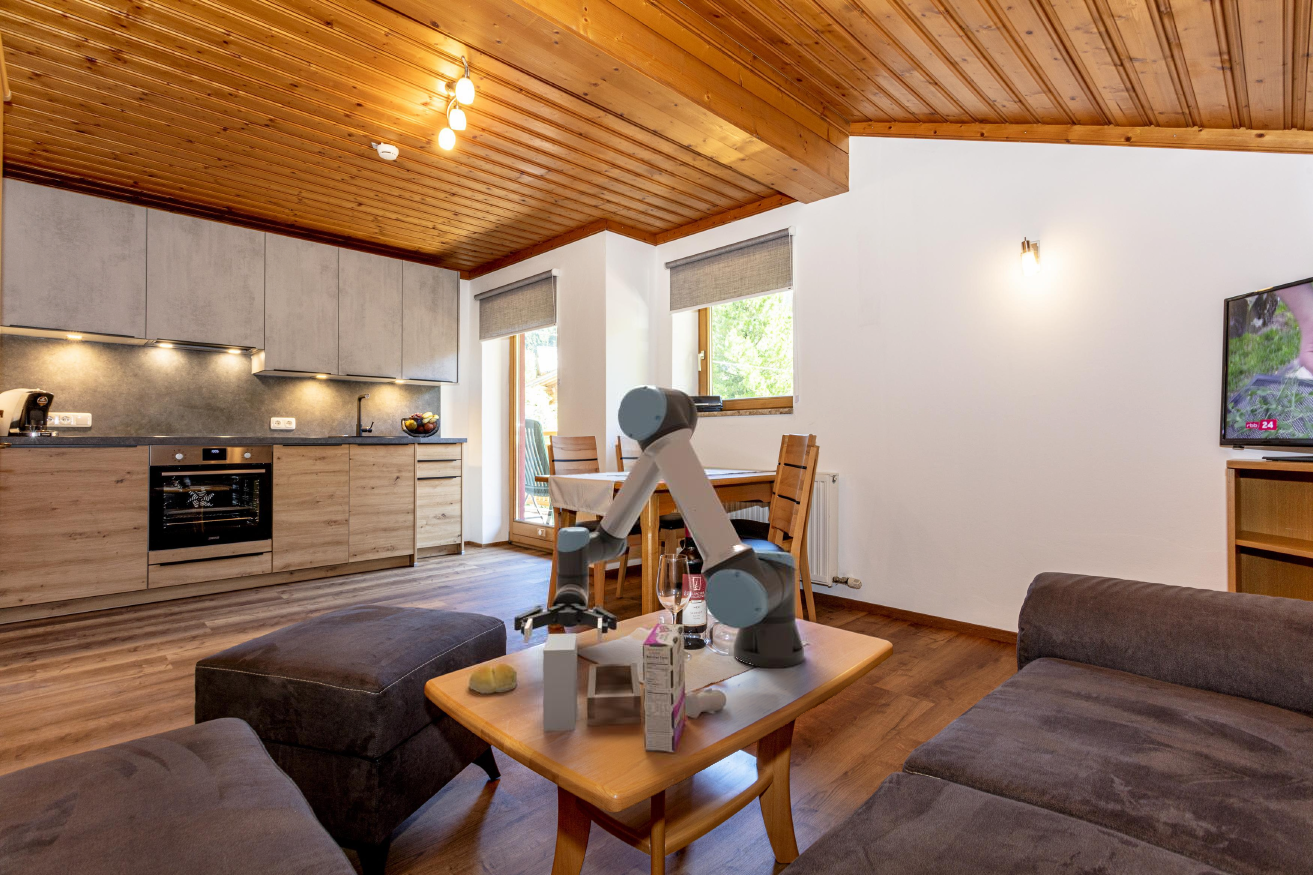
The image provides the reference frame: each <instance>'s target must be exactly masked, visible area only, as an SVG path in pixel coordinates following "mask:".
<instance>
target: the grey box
mask: <svg viewBox="0 0 1313 875" xmlns="http://www.w3.org/2000/svg"><path fill="white" fill-rule="evenodd" d="M546 637H547V638H546V640H545V641H546V642H545V643H544V648H543V651H542V652H543V653H542V658H543V659H542V660H543V662H542V665H543V666H542V667H543V668H542V670H543V671H542V672H543V674H542V675H543V676H542V677H543V678H542V679H543V680H542V685H543V686H542V687H543V688H542V690H543V691H542V694H543V697H542V700H543V701H542V702H543V703H542V704H543V706H542V711H543V712H542V714H543V715H542V716H543V717H542V718H543V719H542V723H543V729H542V731H543V732H550V731H552V732H554V731H557V732H558V731H575V727H576V721H577V720H576V719H577V711H578V633H548V634H547V636H546Z"/></svg>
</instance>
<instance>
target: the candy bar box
mask: <svg viewBox="0 0 1313 875" xmlns="http://www.w3.org/2000/svg"><path fill="white" fill-rule="evenodd" d="M642 663H643V664H642V671H643V672H642V673H643V677H642V678H643V682H642V683H643V722H644V723H643V726H644V727H643V728H644V729H643V730H644V731H643V733H644V737H643V738H644V740H643V741H644V751H647V752H648V751H649V752H657V753H671V754H674V753H675V752H676V749H677V747H678V746H677V745H678V743H679V741H680V737H681V734H682V733H683V729H684V727H685V724H686V722H687V721H686V720H687V719H686V713H685V696H686V686H685V685H686V680H685V678H686V677H685V676H686V674H685V672H686V671H685V668H686V667H685V624H677V623H659V622H658V623H656V624H655V626H654V627H653V629H652V630H651V632H650V633H649V634H648V636H647V637H646V639H645V640H644V642H643V643H642Z"/></svg>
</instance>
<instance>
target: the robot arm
mask: <svg viewBox="0 0 1313 875" xmlns="http://www.w3.org/2000/svg"><path fill="white" fill-rule="evenodd" d="M698 415H699V414H698V409H697V406H696V404H695V402H694V399H692V397H691V396H690V395H688V394H687V393H686V392H684V391H682V390H679V389H674V388H668V387H667V388H666V387H660V386H658V385H657V386H656V385H655V384H648V385H638V386H635V387H633V388H632V389H630V390H629V391H628V392H627V393H626V394H625V395H624V396H623V397H622V399H621V401H620V405H619V408H618V411H617V420H618V425H619V428H620V430H621V431H622V433H623V434H624V435H625V436H626V437H628V438H630V439H631V440H634V441H636V442H637V444H638V446H639V448H640V450H641V452H640V454H639V456H638V457H637V459H636V460H635V463H634V464H633V466H632V467H631V470H630V471H629V473H628V475H627V476H626V478H625V480H624V482H623V483H622V484H621V487H620V488H619V490H618V491H617V494H615V497H614V499H613V500H612V502H611V503H610V505H609V508H608V509H607V511H606V512H605V515H604V516H603V518H602V519H601V521H600V522H599V524H598V526H597V528H596V529H595V530H594V531H592V532H590V530H589V529H588V528H586V527H582V526H571V527H566V526H565V527H563V528H560V529H559V530H558V531H557V540H556V541H557V543H556V547H555V548H556V589H555V590H556V591H555V596H554V598H553V602H552V604H551V607H549V608H547V609H544V607H542V606H541V605H537V606H535V607H534V608H532V609H530V610H528V611H526V612H524V613H521V614H519V615H516V616H514V629H513V630H514V631H516V632H517V631H520V634H521V635H523V640H524V641H523V643H524V644H529V642H530V639H531V637H532V635H533V631H534V630H536V629H539V628H540V629H541V628H542V627H546V626H551V627H553V626H557V625H560V626H561V627H564V628H572V627H577V626H578V625H579V626H589V627H591V628H593V629H597V643H602V640H603V639H602V637H603V636H602V634H608V633H609V629H610V630H612V631H616V630H617V627H618V626H617V625H618V624H617V623H618V619H617V616H616V615H614V614H612V613H610V612H609V611H607V610H605V609H603V608H602V607H601V605H595V606H594V607H593V609H589V608H588V600H589V597H590V587H589V582H590V581H589V576H590V565H594V564H596V563H601V562H604V561H605V562H606V561H611V560H614V559H616V558H618V557H619V556H622V555H623V554H624V553H625V551H627V543H628V540H627V539H628V538H627V536H628V535H629V533H630V532H631V530H632V528H633V526H634V525H635V523H636V521H637V520H638V518H639V517H640V515H641V513H642V512H643V510H644V508H645V507H646V505H647V503H648V502H649V500H650V498H651V496H652V495H653V493H654V492H655V491H656V488H657V487H658V485H659V484H660V482H661V480H662V479H663V481H664V483H665V485H666V487H667V489H668V490H669V493H670V495H671V497H672V499H673V501H674V503H675V504H676V507H677V509H678V511H679V514H680V516H681V517H682V520H683V522H684V523H685V524H684V525H686V527H687V530H688V532H689V534H690V536H691V538H692V540H693V541H694V544H695V546H696V547H697V549H698V552H699V554H700V556H701V558H702V560H703V564H702V567H701V572H700V573H701V575H702V577H703V580H704V581H705V582H706V584H705V591H704V601H705V605H706V607H707V610H708V611H709V612H710V614H711V616H712V617H713V618H714V619H715V620H716V621H718V622H719V623H721V624H722V625H723V626H727V627H729V628H732V629H738V631H737V632H736V633H737V634H736V636H735V640H734V643H733V656H734V655H735V656H734V658H735V657H737V658H738V659H739V660H742V661H744V662H747V663H751V664H753V665H752V666H754V665H756V666H755V667H760V668H771V669H772V668H774V669H775V668H789V667H794V666H796V665H799V664H801V663H803V661H804V659H805V647H804V645H803V641H802V638H801V635H800V632H799V629H798V626H797V622H796V621H797V620H796V571H797V567H796V558H795V557H794V555H793V554H791V553H790V552H785V551H775V550H763V549H762V550H759V549H754V548H753V546H752V545H749V544H746V543H744V542H742V540H741V539H740V537H739V535H738V533H737V532H736V529H735V527H734V525H733V524H732V522H731V520H730V518H729V516H728V514H727V512H726V510H725V508H724V506H723V504H722V502H721V500H720V498H719V497H718V494H717V492H716V490H715V487H714V486H713V483H711V480H710V479H709V476H708V475H707V472H706V471H705V468H704V467H703V465H702V463H701V461H700V459H699V457H698V456H697V453H696V452H695V450H694V448H693V445H692V443H691V439H692V436H693V434H694V433H695V431H696V427H697V425H698V419H699V418H698V417H699V416H698ZM695 510H697V511H695ZM738 659H737V660H738ZM739 660H738V661H739Z"/></svg>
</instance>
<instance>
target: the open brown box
mask: <svg viewBox="0 0 1313 875" xmlns="http://www.w3.org/2000/svg"><path fill="white" fill-rule="evenodd" d="M588 673H589V674H588V684H587V697H586V698H587V701H586V702H587V703H586V705H587V709H586V710H587V711H586V712H587V713H586V714H587V716H586V725H587V726H600V725H625V724H627V725H629V724H631V725H632V724H642V692H641V685H640V678H639V670H638V663H637V662H631V663H630V662H627V663H624V662H623V663H600V664H598V663H597V664H596V663H595V664H593V663H592V664H589V672H588Z"/></svg>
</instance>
